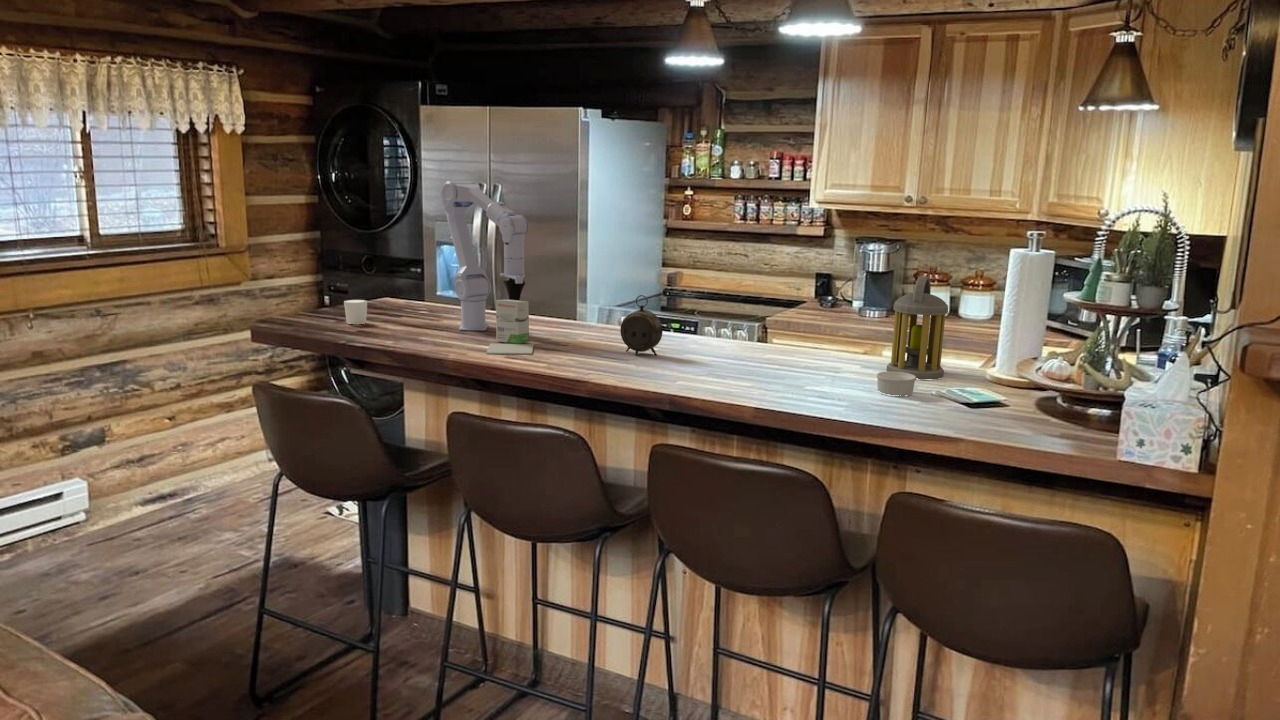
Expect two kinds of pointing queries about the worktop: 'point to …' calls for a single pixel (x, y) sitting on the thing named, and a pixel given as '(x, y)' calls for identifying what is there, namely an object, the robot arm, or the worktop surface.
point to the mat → (510, 349)
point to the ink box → (512, 321)
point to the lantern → (919, 333)
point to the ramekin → (896, 383)
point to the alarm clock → (641, 330)
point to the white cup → (355, 311)
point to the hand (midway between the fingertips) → (514, 305)
